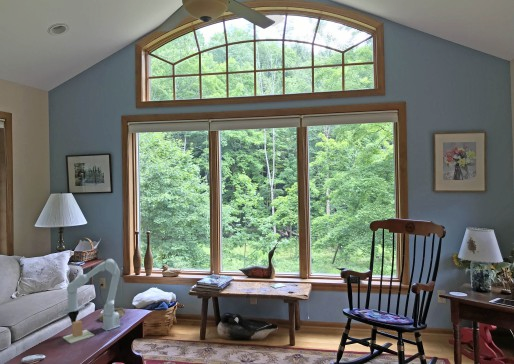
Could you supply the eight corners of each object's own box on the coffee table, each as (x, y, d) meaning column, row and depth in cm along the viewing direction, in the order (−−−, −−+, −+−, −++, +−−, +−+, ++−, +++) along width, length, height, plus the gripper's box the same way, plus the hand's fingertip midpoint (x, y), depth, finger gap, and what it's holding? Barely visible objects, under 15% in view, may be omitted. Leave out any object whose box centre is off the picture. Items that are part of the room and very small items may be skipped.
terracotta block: (79, 333, 231) (79, 320, 231) (82, 334, 228) (82, 322, 228) (72, 335, 228) (72, 322, 228) (75, 337, 225) (74, 324, 225)
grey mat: (86, 330, 236) (86, 329, 236) (94, 335, 228) (94, 334, 228) (62, 337, 226) (62, 336, 226) (70, 343, 218) (70, 342, 218)
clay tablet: (114, 311, 271) (95, 321, 252) (114, 304, 271) (95, 313, 252) (130, 313, 268) (112, 323, 248) (130, 306, 268) (112, 316, 248)
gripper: (63, 306, 224) (64, 328, 224) (87, 299, 235) (87, 320, 235) (58, 304, 228) (59, 325, 228) (81, 297, 240) (82, 318, 240)
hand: (73, 323), depth 232 cm, fingers closed
